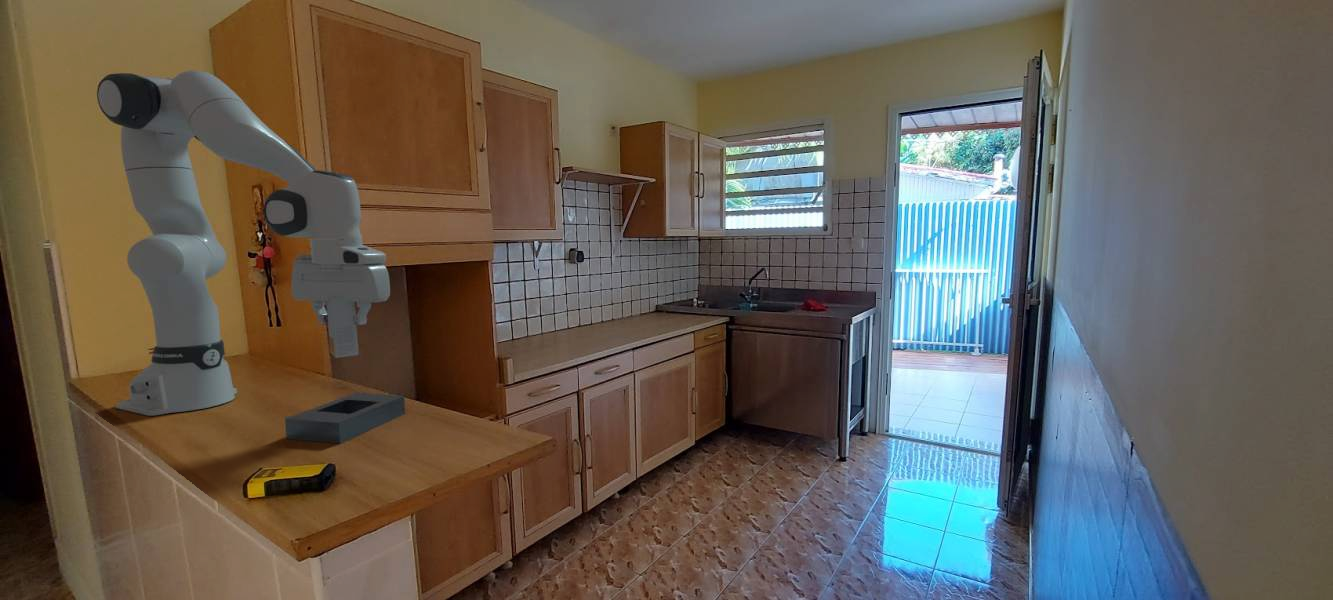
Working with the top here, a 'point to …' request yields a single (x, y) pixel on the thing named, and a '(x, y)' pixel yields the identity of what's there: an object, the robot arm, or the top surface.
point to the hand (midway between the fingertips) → (342, 323)
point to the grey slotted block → (344, 417)
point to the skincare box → (342, 327)
